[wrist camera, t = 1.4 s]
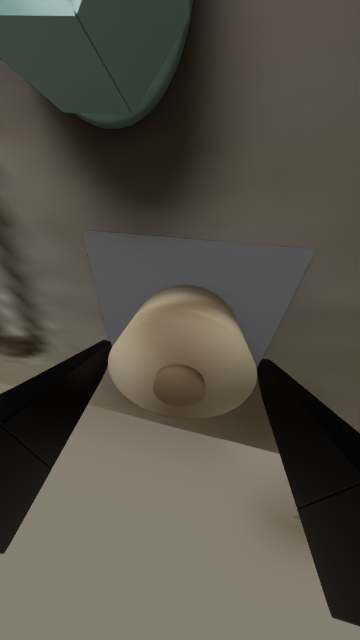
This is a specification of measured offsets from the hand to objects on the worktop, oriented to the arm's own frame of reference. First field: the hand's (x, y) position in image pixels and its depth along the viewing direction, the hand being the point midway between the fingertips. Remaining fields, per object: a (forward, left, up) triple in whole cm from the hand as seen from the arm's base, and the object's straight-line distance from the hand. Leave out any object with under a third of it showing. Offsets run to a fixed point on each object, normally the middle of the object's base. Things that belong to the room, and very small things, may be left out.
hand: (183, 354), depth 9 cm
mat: (0, 0, -3) cm, 3 cm away
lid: (0, 0, -2) cm, 2 cm away
